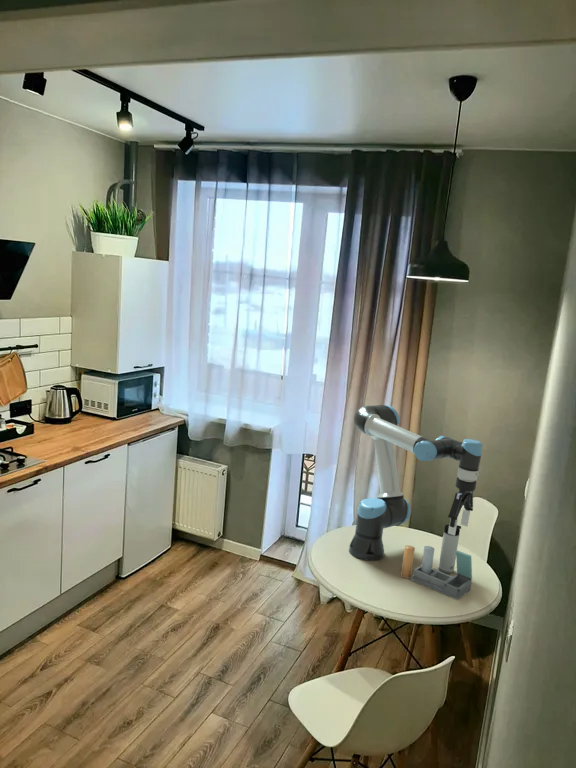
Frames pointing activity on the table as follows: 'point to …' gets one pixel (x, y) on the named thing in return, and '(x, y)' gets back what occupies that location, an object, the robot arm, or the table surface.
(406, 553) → the orange capsule
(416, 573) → the housing
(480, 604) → the table surface
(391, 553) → the table surface
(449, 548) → the travel mug
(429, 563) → the ball
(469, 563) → the lid
